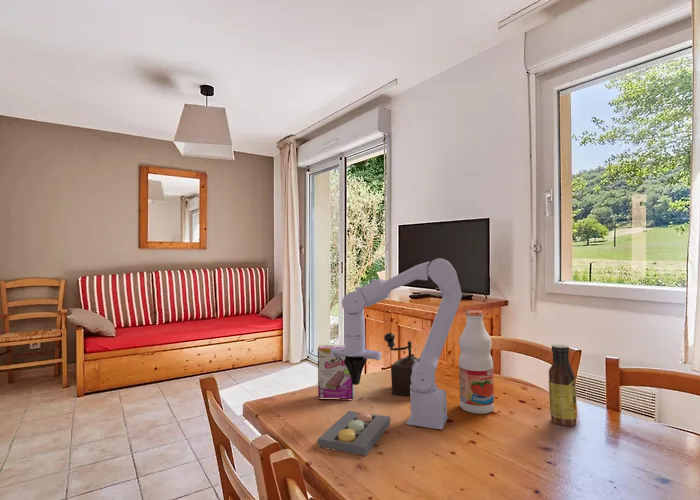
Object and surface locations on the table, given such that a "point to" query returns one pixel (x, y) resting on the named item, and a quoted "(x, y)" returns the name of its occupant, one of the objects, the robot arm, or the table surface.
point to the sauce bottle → (562, 388)
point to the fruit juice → (476, 366)
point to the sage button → (356, 425)
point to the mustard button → (347, 435)
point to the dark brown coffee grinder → (401, 369)
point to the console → (362, 440)
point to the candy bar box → (333, 375)
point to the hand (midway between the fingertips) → (356, 383)
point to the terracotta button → (364, 417)
